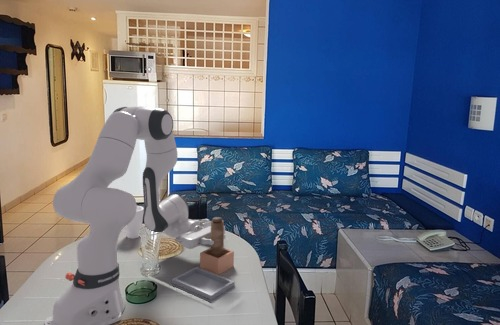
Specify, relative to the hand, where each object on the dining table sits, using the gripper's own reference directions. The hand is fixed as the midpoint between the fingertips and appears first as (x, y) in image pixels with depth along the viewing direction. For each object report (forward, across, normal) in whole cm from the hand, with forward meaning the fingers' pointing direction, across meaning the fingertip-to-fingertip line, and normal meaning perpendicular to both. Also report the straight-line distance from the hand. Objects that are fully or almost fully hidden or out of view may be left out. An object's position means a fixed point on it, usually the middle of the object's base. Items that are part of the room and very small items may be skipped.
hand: (218, 240), depth 146 cm
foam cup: (-53, +2, +12) cm, 54 cm away
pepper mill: (-1, 0, +11) cm, 11 cm away
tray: (+4, -13, +12) cm, 18 cm away
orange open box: (-1, 0, +12) cm, 12 cm away
